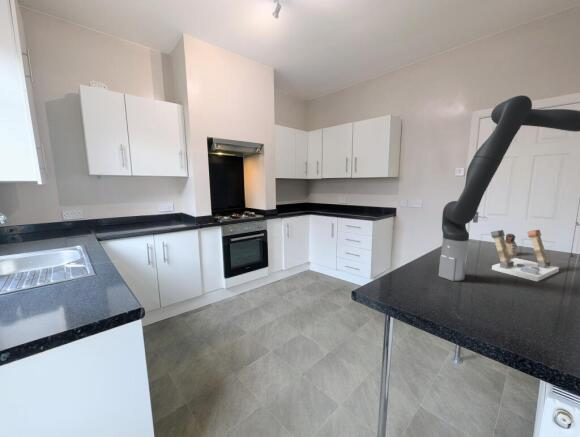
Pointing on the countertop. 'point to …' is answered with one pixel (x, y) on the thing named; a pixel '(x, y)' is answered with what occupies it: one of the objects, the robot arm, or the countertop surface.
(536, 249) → the brown long rectangular block
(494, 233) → the tan wooden post
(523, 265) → the panel
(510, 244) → the figurine
